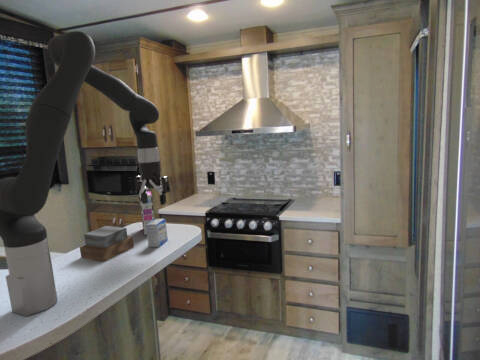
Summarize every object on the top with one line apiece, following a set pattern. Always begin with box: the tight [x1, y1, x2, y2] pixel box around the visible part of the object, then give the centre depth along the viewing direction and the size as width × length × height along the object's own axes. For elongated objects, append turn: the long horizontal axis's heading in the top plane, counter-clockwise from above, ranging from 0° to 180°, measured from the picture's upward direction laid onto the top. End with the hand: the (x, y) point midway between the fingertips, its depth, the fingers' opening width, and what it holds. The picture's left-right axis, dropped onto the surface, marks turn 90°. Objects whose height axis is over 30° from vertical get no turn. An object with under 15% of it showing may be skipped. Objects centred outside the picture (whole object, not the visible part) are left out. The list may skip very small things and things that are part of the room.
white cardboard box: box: [138, 190, 155, 237], centre depth 143 cm, size 11×5×16 cm, turn 17°
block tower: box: [79, 225, 135, 262], centre depth 122 cm, size 14×11×8 cm
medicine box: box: [146, 218, 169, 248], centre depth 128 cm, size 8×4×9 cm, turn 168°
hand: (154, 203), depth 126 cm, fingers open, 8 cm apart
